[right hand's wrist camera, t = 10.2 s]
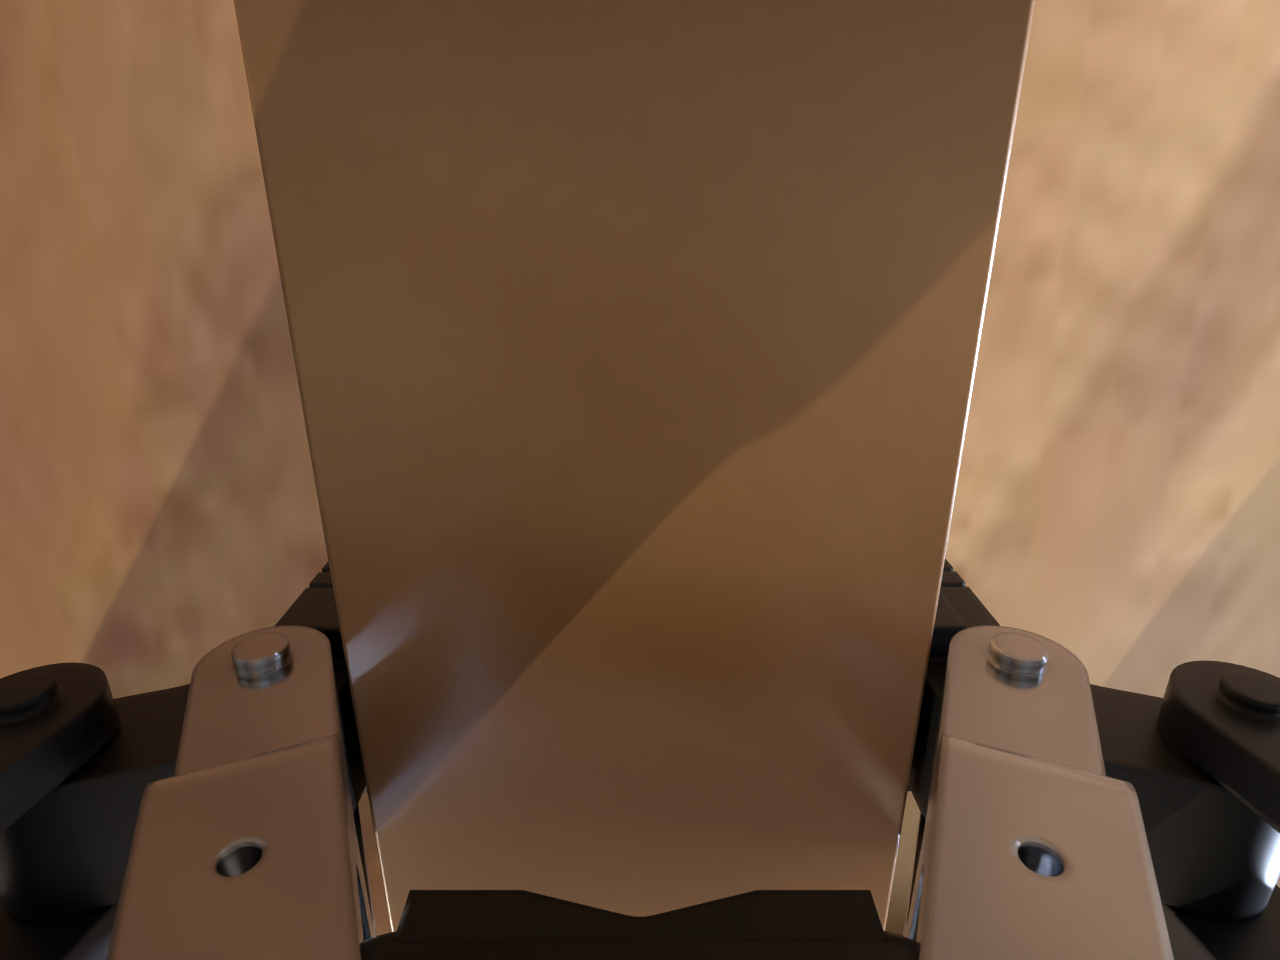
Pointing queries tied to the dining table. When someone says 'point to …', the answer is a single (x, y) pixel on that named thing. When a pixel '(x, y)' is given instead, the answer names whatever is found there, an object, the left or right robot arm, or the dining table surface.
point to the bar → (635, 415)
